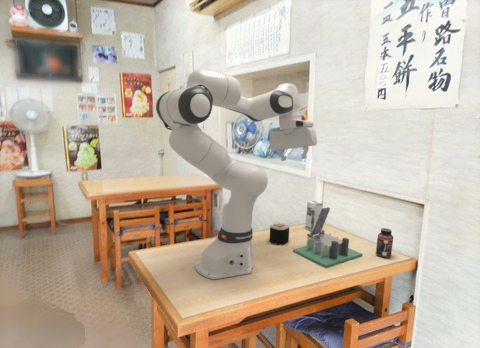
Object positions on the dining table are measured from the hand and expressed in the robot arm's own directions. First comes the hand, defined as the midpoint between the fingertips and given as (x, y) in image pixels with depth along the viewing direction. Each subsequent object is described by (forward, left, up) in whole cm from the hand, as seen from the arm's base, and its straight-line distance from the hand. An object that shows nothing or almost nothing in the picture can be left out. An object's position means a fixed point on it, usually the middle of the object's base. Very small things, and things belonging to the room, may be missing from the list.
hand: (293, 159), depth 137 cm
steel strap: (+12, -6, -26) cm, 30 cm away
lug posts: (+12, -17, -39) cm, 44 cm away
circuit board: (+12, -11, -39) cm, 42 cm away
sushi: (+4, +10, -39) cm, 41 cm away
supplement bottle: (+32, -24, -39) cm, 56 cm away
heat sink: (+12, -9, -38) cm, 41 cm away
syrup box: (+30, +14, -39) cm, 51 cm away
